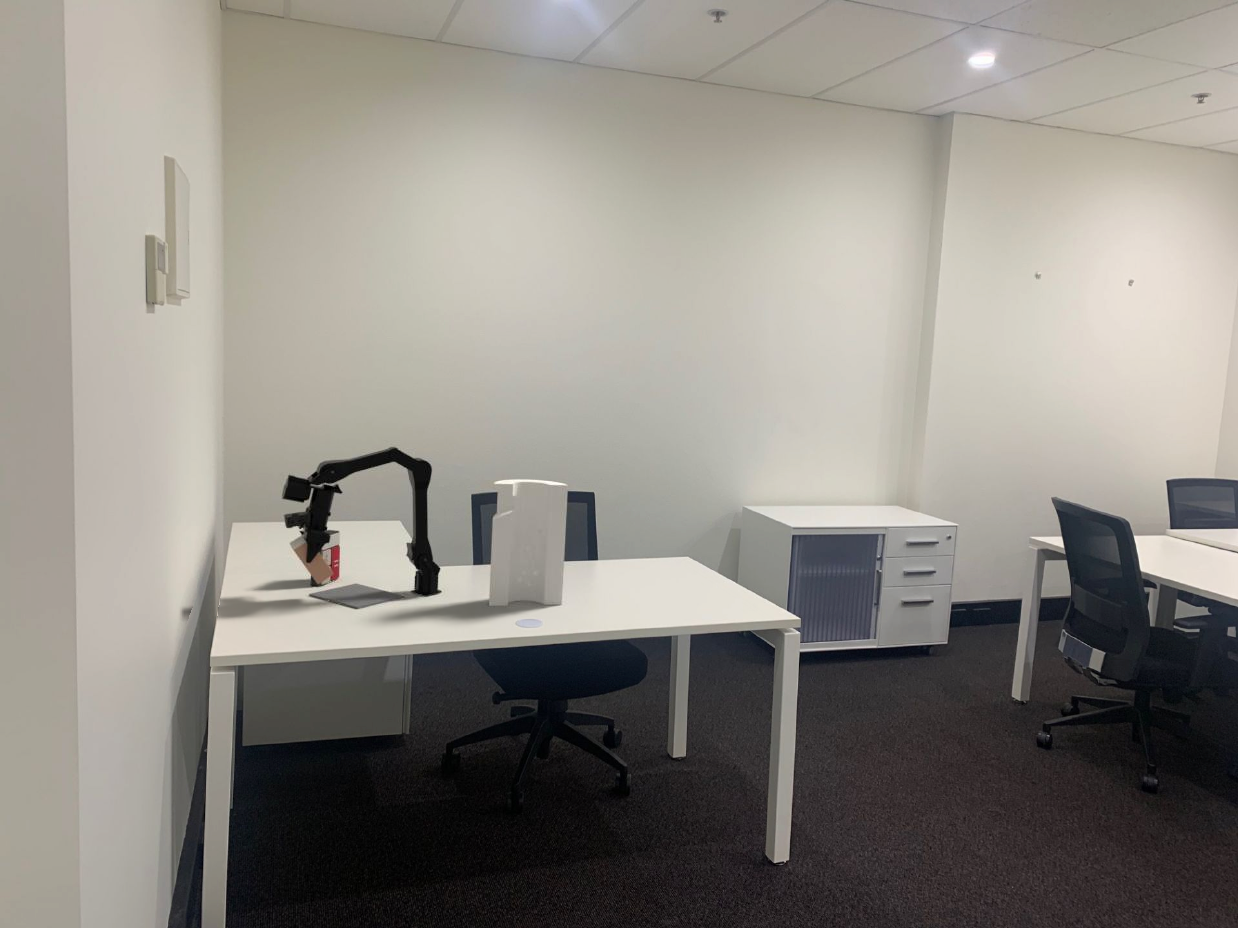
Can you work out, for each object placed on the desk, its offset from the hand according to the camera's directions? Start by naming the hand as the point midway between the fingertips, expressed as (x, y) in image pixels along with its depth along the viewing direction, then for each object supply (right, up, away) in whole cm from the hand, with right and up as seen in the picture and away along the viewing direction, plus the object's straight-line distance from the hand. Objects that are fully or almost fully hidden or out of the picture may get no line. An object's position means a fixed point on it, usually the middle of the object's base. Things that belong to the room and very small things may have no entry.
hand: (306, 560), depth 244 cm
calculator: (-2, -9, +21) cm, 23 cm away
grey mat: (+12, -11, +8) cm, 18 cm away
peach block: (+4, -5, +3) cm, 7 cm away
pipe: (+58, -13, +13) cm, 62 cm away
